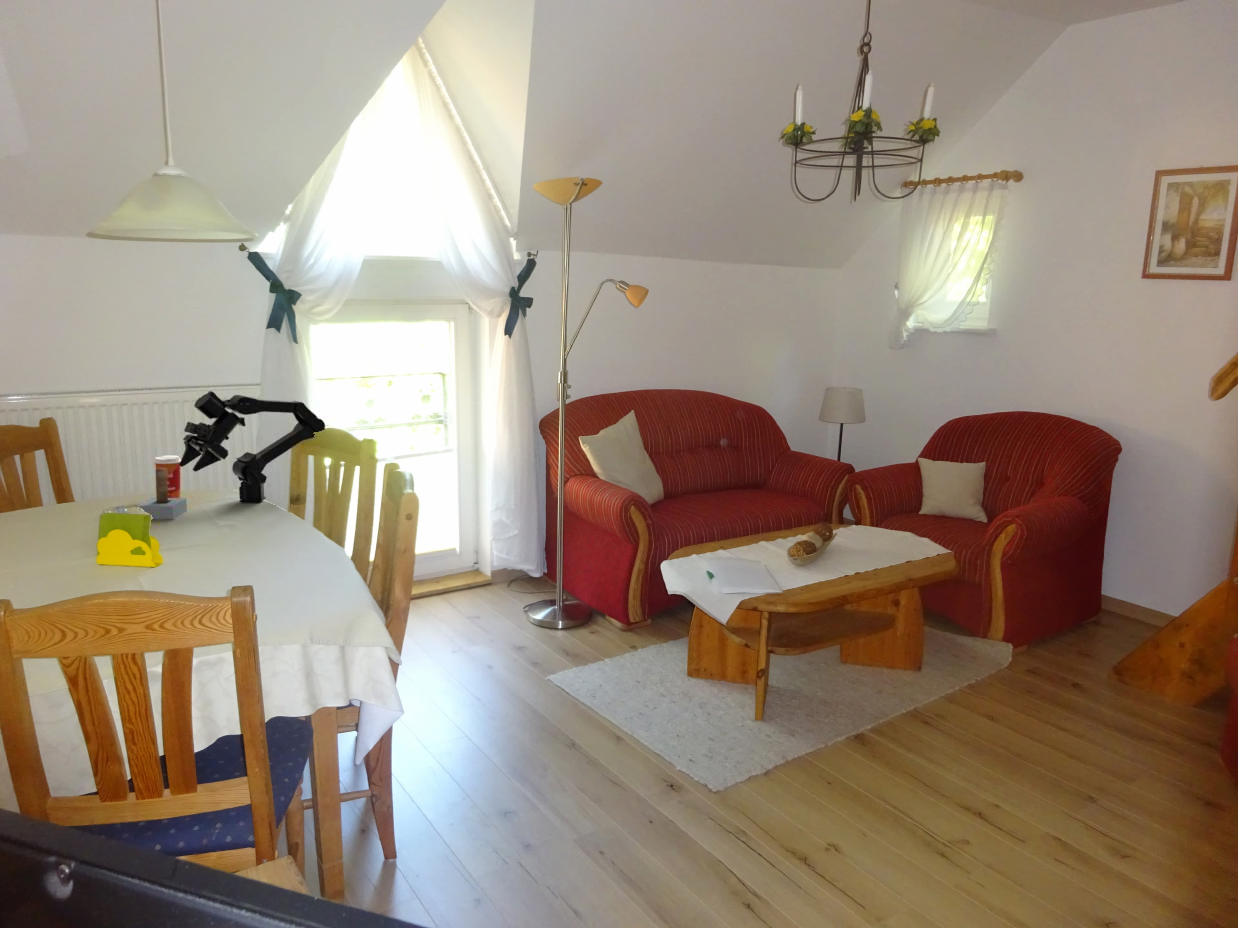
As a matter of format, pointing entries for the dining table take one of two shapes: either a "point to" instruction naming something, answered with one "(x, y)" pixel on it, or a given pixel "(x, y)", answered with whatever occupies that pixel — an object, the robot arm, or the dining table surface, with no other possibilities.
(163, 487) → the dowel
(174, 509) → the socket block
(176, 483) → the paper cup
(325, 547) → the dining table surface
